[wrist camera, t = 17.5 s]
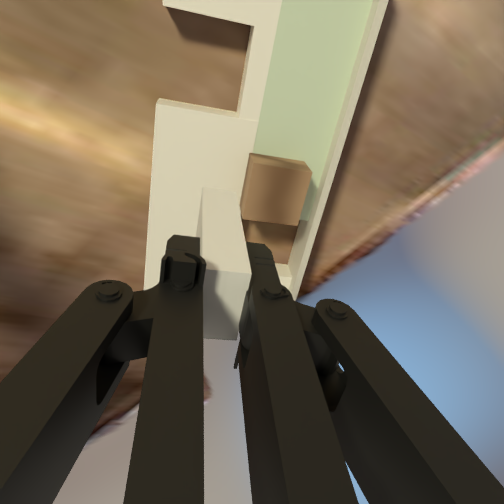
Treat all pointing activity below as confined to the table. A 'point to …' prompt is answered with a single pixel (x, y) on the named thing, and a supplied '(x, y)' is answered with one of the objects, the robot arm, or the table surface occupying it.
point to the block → (274, 189)
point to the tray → (265, 115)
